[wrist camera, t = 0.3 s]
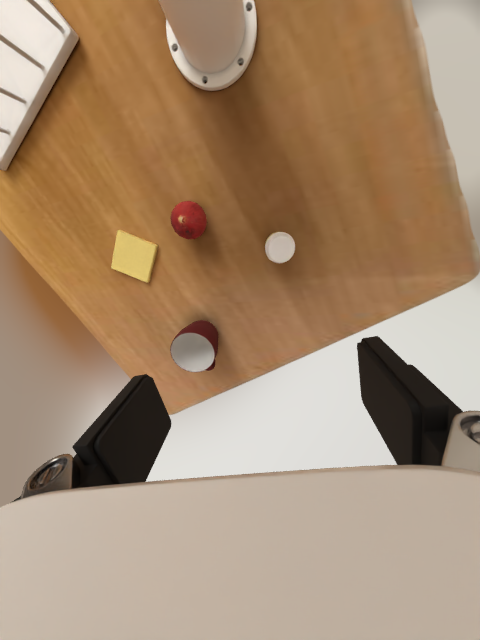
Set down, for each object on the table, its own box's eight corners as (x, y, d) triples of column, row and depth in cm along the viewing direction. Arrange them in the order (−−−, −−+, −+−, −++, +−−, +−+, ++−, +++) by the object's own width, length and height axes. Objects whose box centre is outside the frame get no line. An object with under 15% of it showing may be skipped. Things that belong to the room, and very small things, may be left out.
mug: (236, 347, 52) (230, 374, 42) (204, 360, 54) (192, 388, 44) (212, 305, 49) (200, 324, 39) (180, 321, 51) (161, 342, 41)
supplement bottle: (290, 259, 44) (295, 266, 36) (264, 258, 44) (264, 265, 36) (292, 231, 42) (298, 232, 34) (265, 230, 42) (266, 232, 35)
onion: (212, 236, 44) (202, 238, 36) (182, 239, 44) (166, 242, 37) (208, 201, 41) (196, 196, 34) (176, 205, 42) (158, 200, 35)
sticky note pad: (113, 267, 47) (110, 268, 47) (120, 229, 45) (117, 229, 44) (149, 281, 48) (147, 282, 47) (158, 245, 45) (156, 245, 44)
